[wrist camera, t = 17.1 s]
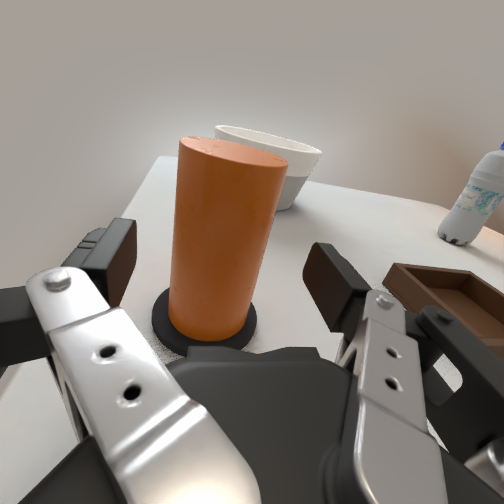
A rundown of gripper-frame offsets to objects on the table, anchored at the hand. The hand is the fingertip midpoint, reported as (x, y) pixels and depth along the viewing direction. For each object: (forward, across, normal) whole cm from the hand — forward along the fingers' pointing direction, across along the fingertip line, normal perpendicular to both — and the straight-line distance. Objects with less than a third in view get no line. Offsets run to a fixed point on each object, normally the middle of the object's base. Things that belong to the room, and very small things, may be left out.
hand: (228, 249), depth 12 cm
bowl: (+37, -10, +9) cm, 40 cm away
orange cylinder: (+5, 0, +8) cm, 10 cm away
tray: (+6, -27, +9) cm, 29 cm away
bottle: (+29, -50, +9) cm, 59 cm away
